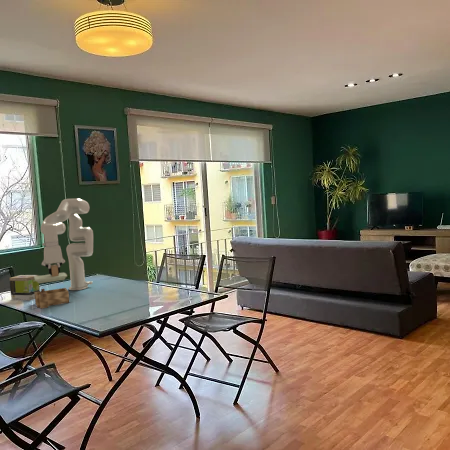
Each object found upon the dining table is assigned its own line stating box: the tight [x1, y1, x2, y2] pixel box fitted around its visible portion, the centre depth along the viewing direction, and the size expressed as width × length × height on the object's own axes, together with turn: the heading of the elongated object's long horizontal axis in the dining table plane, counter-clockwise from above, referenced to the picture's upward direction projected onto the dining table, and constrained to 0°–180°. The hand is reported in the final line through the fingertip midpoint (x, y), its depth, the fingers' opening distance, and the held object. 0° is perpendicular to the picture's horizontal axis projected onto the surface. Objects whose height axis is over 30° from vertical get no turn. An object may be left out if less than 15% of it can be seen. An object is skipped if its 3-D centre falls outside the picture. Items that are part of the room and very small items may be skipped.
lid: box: [34, 264, 68, 284], centre depth 271 cm, size 18×12×8 cm, turn 118°
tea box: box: [8, 274, 41, 301], centre depth 287 cm, size 15×10×15 cm, turn 71°
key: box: [40, 288, 47, 297], centre depth 257 cm, size 2×10×3 cm, turn 28°
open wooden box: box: [34, 287, 70, 309], centre depth 270 cm, size 18×16×8 cm
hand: (54, 273), depth 272 cm, fingers closed on lid, 3 cm apart
